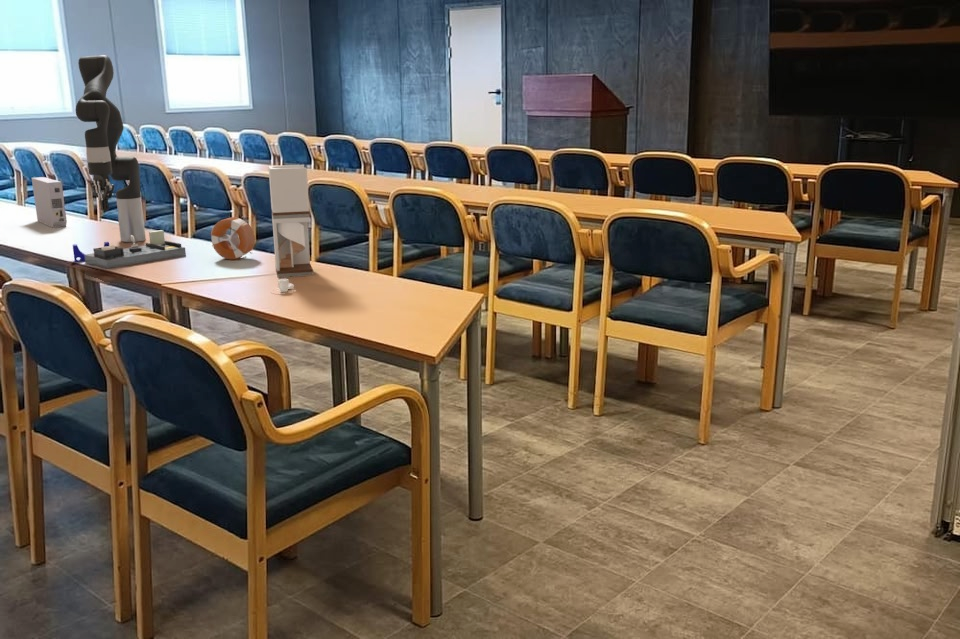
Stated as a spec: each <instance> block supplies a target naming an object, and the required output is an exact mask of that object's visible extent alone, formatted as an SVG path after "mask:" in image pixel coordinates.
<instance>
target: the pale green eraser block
mask: <svg viewBox="0 0 960 639" xmlns="http://www.w3.org/2000/svg"><path fill="white" fill-rule="evenodd" d="M148 234H149V243H151V244H156V245H161V244H165V241H166V240H165V231H164V230H162V229H160V230H154V231H148Z"/></svg>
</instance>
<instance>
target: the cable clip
mask: <svg viewBox="0 0 960 639" xmlns="http://www.w3.org/2000/svg"><path fill="white" fill-rule="evenodd" d="M105 246H110V241H104V242H103V247H105ZM72 250H73V257H74V258H73V259H74V262H75V263H79V262H81V263H83V262H85V256H84V255H86V254H85V253H84V252H82V251H81V250H80V248H79V247H78V243H77V244H76V243H74V244H72ZM78 258H79V259H78Z"/></svg>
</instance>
